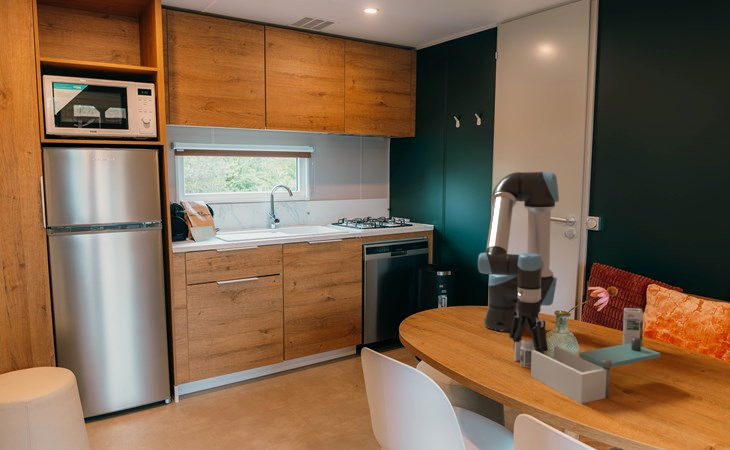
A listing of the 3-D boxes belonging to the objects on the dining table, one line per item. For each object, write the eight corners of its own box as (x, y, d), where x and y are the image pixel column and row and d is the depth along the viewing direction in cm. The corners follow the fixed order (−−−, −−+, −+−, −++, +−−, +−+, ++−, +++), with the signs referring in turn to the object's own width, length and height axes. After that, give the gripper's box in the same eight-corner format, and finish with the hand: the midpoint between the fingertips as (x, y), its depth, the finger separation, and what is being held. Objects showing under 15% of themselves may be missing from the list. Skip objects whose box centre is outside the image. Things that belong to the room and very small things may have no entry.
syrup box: (624, 349, 190) (626, 311, 188) (622, 344, 195) (623, 306, 193) (642, 351, 188) (643, 312, 186) (639, 346, 193) (641, 308, 192)
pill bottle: (537, 365, 176) (537, 341, 175) (531, 369, 173) (531, 344, 172) (523, 361, 179) (524, 338, 178) (517, 365, 176) (518, 341, 175)
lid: (662, 357, 157) (663, 342, 157) (606, 369, 149) (607, 353, 148) (631, 346, 167) (631, 332, 167) (577, 356, 159) (578, 341, 158)
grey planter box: (557, 371, 171) (557, 345, 170) (610, 397, 151) (611, 369, 150) (530, 376, 167) (531, 350, 166) (581, 404, 147) (582, 375, 146)
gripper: (499, 293, 182) (498, 355, 185) (542, 309, 162) (540, 378, 165) (517, 291, 185) (515, 352, 187) (561, 306, 165) (559, 374, 167)
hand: (527, 364), depth 176 cm, fingers open, 9 cm apart
